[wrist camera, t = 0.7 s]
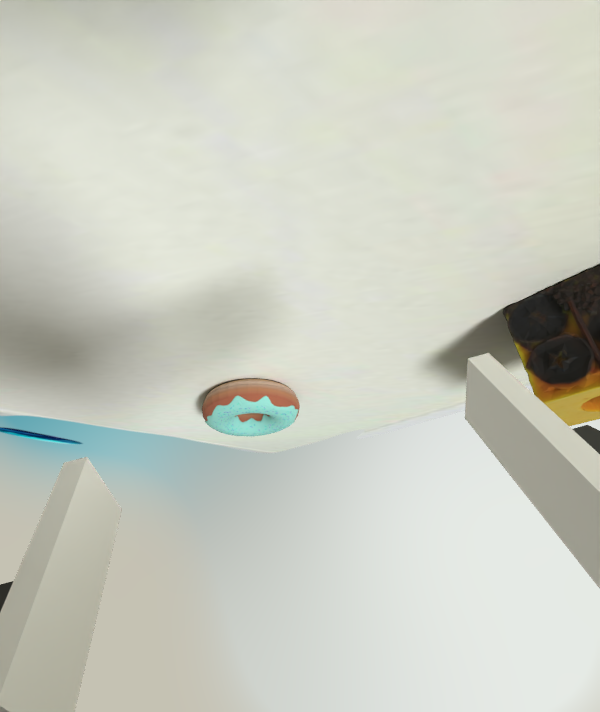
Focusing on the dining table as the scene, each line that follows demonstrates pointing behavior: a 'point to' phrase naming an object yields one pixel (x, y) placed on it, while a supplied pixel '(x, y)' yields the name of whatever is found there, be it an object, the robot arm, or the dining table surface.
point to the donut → (250, 407)
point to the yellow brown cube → (562, 345)
